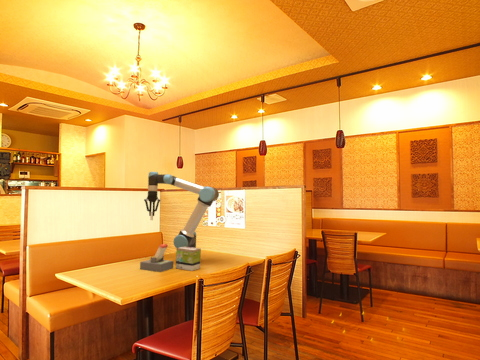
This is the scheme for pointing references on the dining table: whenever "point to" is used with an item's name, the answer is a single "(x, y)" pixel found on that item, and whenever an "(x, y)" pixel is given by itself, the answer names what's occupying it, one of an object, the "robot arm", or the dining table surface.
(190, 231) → the robot arm
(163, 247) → the breaker lever
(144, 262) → the breaker housing
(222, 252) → the dining table surface
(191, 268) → the tea box
